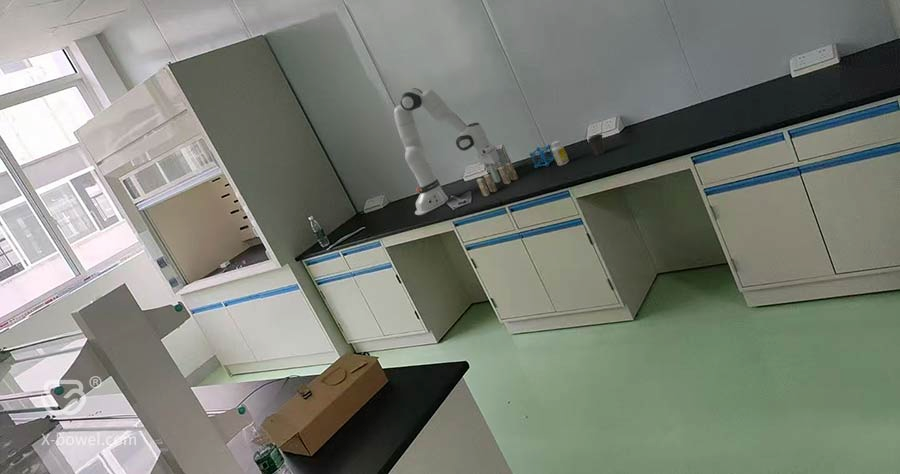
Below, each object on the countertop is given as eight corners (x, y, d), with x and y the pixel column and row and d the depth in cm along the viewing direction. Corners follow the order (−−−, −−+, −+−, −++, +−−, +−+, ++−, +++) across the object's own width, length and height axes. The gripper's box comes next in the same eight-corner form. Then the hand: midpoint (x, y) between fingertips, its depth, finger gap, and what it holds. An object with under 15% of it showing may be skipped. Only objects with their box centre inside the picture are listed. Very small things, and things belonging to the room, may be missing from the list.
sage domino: (498, 182, 378) (491, 167, 375) (494, 182, 382) (487, 167, 379) (501, 180, 378) (494, 165, 375) (497, 180, 383) (490, 165, 380)
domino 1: (487, 196, 360) (480, 180, 357) (483, 195, 365) (476, 179, 362) (490, 194, 361) (483, 178, 358) (486, 194, 365) (479, 178, 362)
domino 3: (508, 183, 365) (501, 168, 362) (504, 183, 369) (497, 168, 366) (511, 182, 365) (504, 166, 362) (507, 182, 370) (500, 166, 367)
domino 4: (515, 179, 366) (508, 164, 363) (511, 179, 371) (504, 164, 368) (518, 178, 367) (511, 162, 364) (513, 178, 371) (507, 162, 368)
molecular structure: (557, 159, 369) (550, 143, 366) (548, 166, 362) (541, 150, 360) (543, 162, 376) (537, 146, 373) (534, 169, 370) (528, 153, 367)
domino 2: (494, 191, 361) (487, 176, 359) (490, 191, 366) (483, 175, 363) (497, 190, 362) (490, 174, 359) (493, 189, 367) (486, 174, 364)
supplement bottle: (570, 159, 354) (562, 138, 351) (566, 164, 349) (558, 142, 346) (560, 162, 358) (551, 141, 355) (556, 167, 353) (547, 146, 350)
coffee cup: (609, 151, 336) (603, 134, 333) (595, 157, 337) (588, 140, 334) (606, 148, 344) (599, 131, 341) (592, 155, 345) (585, 138, 342)
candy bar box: (506, 170, 396) (496, 146, 392) (513, 167, 395) (503, 143, 390) (504, 175, 386) (494, 151, 382) (512, 172, 385) (502, 147, 380)
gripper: (471, 151, 383) (481, 172, 387) (487, 150, 364) (496, 172, 368) (480, 146, 385) (489, 167, 389) (496, 145, 366) (505, 167, 370)
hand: (493, 169), depth 378 cm, fingers open, 8 cm apart
